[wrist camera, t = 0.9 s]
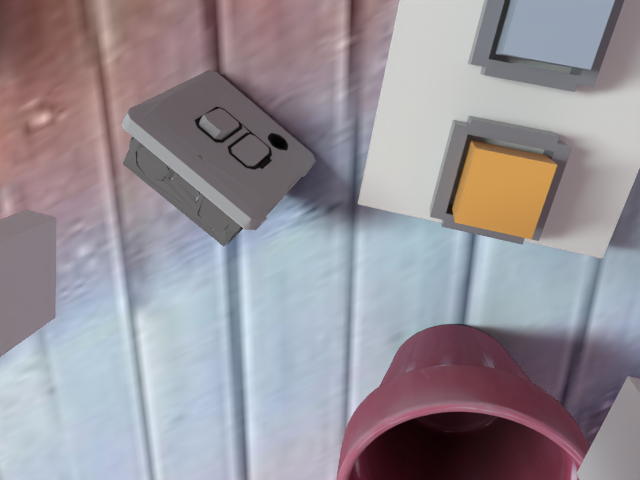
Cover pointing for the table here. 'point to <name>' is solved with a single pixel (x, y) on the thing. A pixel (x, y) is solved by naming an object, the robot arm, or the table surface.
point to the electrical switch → (214, 154)
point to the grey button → (555, 31)
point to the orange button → (503, 189)
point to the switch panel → (505, 120)
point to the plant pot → (459, 417)
